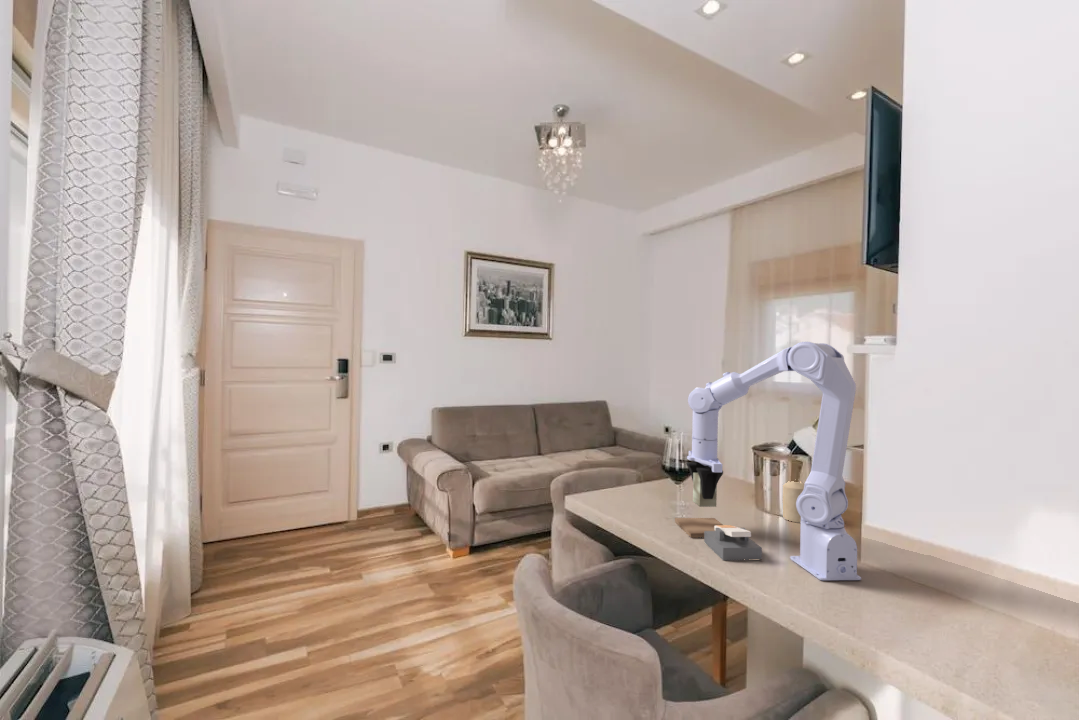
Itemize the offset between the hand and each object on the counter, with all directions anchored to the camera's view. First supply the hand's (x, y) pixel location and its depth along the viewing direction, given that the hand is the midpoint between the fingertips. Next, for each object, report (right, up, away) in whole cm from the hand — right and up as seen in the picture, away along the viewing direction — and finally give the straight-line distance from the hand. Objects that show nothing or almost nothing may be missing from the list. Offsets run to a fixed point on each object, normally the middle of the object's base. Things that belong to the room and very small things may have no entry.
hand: (703, 495), depth 107 cm
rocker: (+2, -4, -12) cm, 13 cm away
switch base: (+2, -8, -12) cm, 15 cm away
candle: (+26, -9, +9) cm, 29 cm away
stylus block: (0, -2, 0) cm, 2 cm away
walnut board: (0, -8, 0) cm, 8 cm away
